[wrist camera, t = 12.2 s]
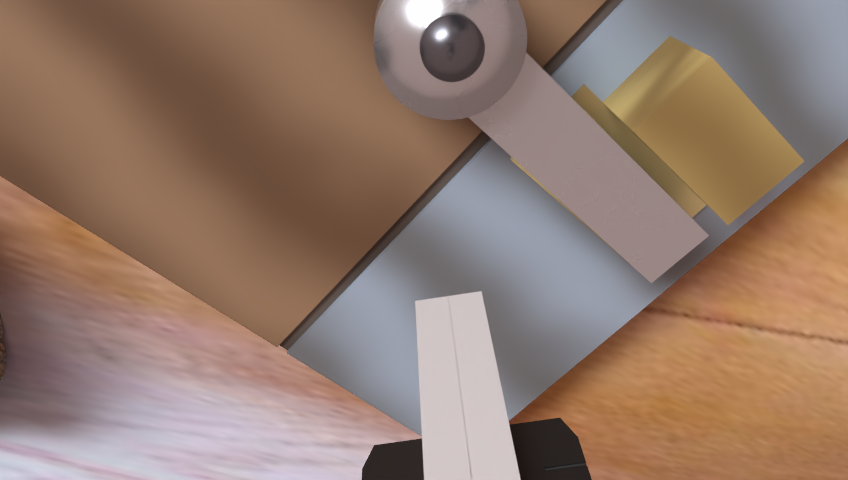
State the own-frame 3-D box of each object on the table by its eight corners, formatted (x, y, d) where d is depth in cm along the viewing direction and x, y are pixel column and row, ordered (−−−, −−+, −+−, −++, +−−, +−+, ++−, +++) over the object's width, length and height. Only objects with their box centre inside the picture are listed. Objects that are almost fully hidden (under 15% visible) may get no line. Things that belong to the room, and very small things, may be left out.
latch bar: (346, 32, 21) (340, 55, 18) (439, -80, 20) (450, -75, 17) (614, 271, 26) (645, 320, 23) (705, 194, 24) (750, 236, 21)
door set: (472, -795, 15) (520, -1155, 10) (967, -26, 24) (1130, -3, 19) (-45, 95, 24) (-164, 152, 19) (455, 418, 33) (468, 518, 28)
